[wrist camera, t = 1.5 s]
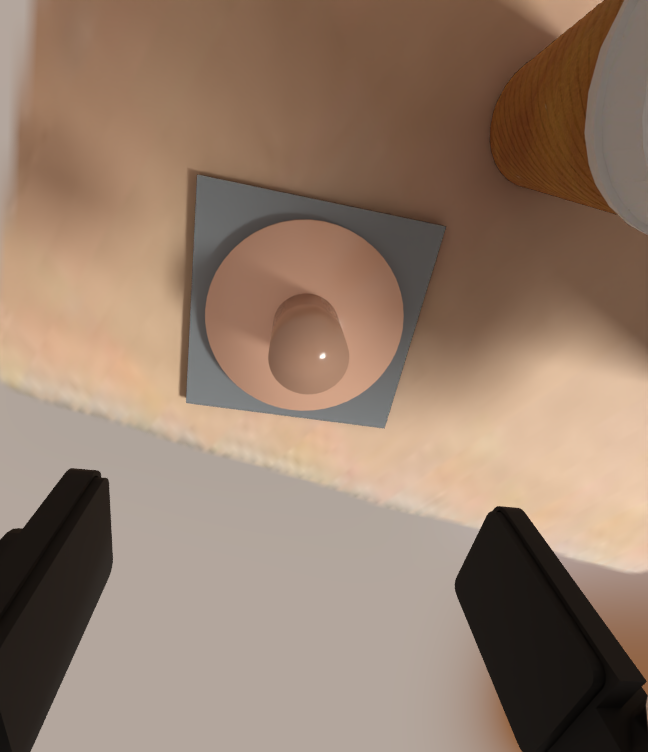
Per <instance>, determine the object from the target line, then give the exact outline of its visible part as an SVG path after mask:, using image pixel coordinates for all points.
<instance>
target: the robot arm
mask: <svg viewBox="0 0 648 752" xmlns="http://www.w3.org/2000/svg"><path fill="white" fill-rule="evenodd" d="M112 563H113V553H112V534H111V515H110V495H109V481H108V479H107V478H101V473H100V472H99V471H96V470H85V469H74V468H71V469H69V470H68V471H67V472H66V473H65V474H64V475H63V477H62V478H61V479H60V481H59V482H58V483H57V485H56V486H55V487H54V488H53V490H52V491H51V492H50V494H49V495H48V496H47V498H46V499H45V500H44V502H43V503H42V504H41V506H40V507H39V508H38V510H37V511H36V512H35V513H34V515H33V516H32V517H31V519H30V520H29V522H28V523H27V524H26V525H25V527H24V528H23V529H20V528H18V529H12V530H11V531H9V532H7V533H6V534H5V535H4V536H3V537H2V538H1V540H0V752H30V751H31V749H32V747H33V745H34V743H35V740H36V738H37V736H38V734H39V731H40V729H41V727H42V725H43V723H44V720H45V718H46V716H47V713H48V711H49V709H50V707H51V705H52V703H53V700H54V698H55V696H56V694H57V691H58V689H59V687H60V685H61V683H62V680H63V678H64V676H65V673H66V671H67V669H68V667H69V665H70V662H71V660H72V658H73V656H74V654H75V651H76V649H77V647H78V645H79V643H80V640H81V638H82V636H83V634H84V631H85V629H86V627H87V625H88V622H89V620H90V618H91V616H92V614H93V611H94V609H95V607H96V605H97V603H98V600H99V598H100V596H101V593H102V591H103V589H104V587H105V585H106V583H107V580H108V578H109V575H110V572H111V568H112ZM455 591H456V594H457V597H458V599H459V602H460V604H461V607H462V609H463V612H464V614H465V617H466V619H467V621H468V624H469V626H470V629H471V631H472V633H473V636H474V638H475V641H476V643H477V646H478V648H479V651H480V653H481V655H482V658H483V660H484V662H485V665H486V667H487V670H488V672H489V675H490V677H491V679H492V682H493V684H494V687H495V689H496V692H497V694H498V697H499V699H500V702H501V704H502V706H503V709H504V711H505V714H506V716H507V718H508V721H509V723H510V726H511V728H512V731H513V733H514V735H515V738H516V740H517V743H518V745H519V747H520V749H521V750H522V752H648V695H647V694H646V693H645V691H644V690H643V688H642V686H643V685H644V684H645V683H646V680H645V678H644V677H643V676H642V674H641V673H640V671H639V670H638V669H637V667H636V666H635V665H634V663H633V662H632V660H631V659H630V658H629V656H628V655H627V653H626V652H625V651H624V649H623V648H622V647H621V645H620V644H619V642H618V641H617V640H616V638H615V637H614V635H613V634H612V633H611V631H610V630H609V629H608V627H607V626H606V624H605V623H604V622H603V620H602V619H601V618H600V616H599V615H598V613H597V612H596V610H595V609H594V608H593V606H592V605H591V604H590V602H589V601H588V599H587V598H586V597H585V595H584V594H583V592H582V591H581V590H580V588H579V587H578V586H577V584H576V583H575V581H574V580H573V579H572V577H571V576H570V575H569V573H568V572H567V570H566V569H565V568H564V566H563V565H562V563H561V562H560V561H559V559H558V558H557V556H556V555H555V554H554V552H553V551H552V550H551V548H550V547H549V545H548V544H547V543H546V541H545V540H544V538H543V537H542V536H541V534H540V533H539V532H538V530H537V529H536V527H535V526H534V525H533V523H532V522H531V520H530V519H529V518H528V516H527V515H526V514H525V512H524V511H523V510H522V509H520V508H512V507H501V506H497V507H496V508H494V510H493V511H492V512H489V513H488V515H487V516H486V518H485V521H484V523H483V525H482V527H481V529H480V531H479V533H478V535H477V537H476V539H475V541H474V543H473V545H472V547H471V549H470V551H469V553H468V555H467V557H466V559H465V561H464V563H463V565H462V568H461V569H460V571H459V574H458V576H457V578H456V580H455Z"/></svg>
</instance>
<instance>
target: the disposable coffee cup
mask: <svg viewBox="0 0 648 752" xmlns="http://www.w3.org/2000/svg"><path fill="white" fill-rule="evenodd" d="M490 144H491V151H492V155H493V158H494V161H495V163H496V165H497V167H498V168H499V170H500V172H501V173H502V174H503V175H504V176H505V177H506V178H507V179H508V180H509V181H511V182H513V183H514V184H516V185H519V186H522V187H525V188H529V189H532V190H536V191H539V192H543V193H546V194H549V195H552V196H556V197H559V198H562V199H566V200H569V201H573V202H576V203H580V204H583V205H586V206H590V207H593V208H596V209H600V210H603V211H606V212H610V213H613V214H617V215H619V216H620V217H621V218H622V219H623V220H624V221H625V222H626V223H627V224H628V225H630V226H631V227H633V228H635V229H637V230H639V231H640V232H642V233H644V234H646V235H648V0H604V1H603V2H602V3H600V4H598V5H597V6H596V7H595V8H594V9H593V10H592V11H590V12H589V13H588V14H587V15H586V16H584V17H583V18H582V19H580V20H579V21H578V22H577V23H576V24H575V25H574V26H572V27H571V28H569V29H568V30H567V31H566V32H565V33H564V34H562V35H561V36H560V37H559V38H558V39H556V40H555V41H553V42H552V43H551V44H550V45H549V46H548V47H546V48H545V49H544V50H543V51H542V52H540V53H539V54H538V55H537V56H536V57H535V58H533V59H532V60H531V61H529V62H528V63H526V64H525V65H524V66H523V67H522V68H521V69H520V70H518V71H517V72H516V73H515V74H514V76H513V77H512V78H511V79H510V81H509V82H508V83H507V85H506V86H505V88H504V90H503V92H502V94H501V95H500V97H499V99H498V101H497V104H496V106H495V109H494V112H493V117H492V122H491V127H490Z"/></svg>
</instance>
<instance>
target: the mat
mask: <svg viewBox="0 0 648 752" xmlns="http://www.w3.org/2000/svg"><path fill="white" fill-rule="evenodd" d="M295 219H313V220H321V221H326V222H330V223H333V224H337V225H339V226H342V227H344V228H346V229H349V230H351V231H352V232H354V233H355V234H357V235H359V236H360V237H362V238H363V239H364V240H366V241H367V242H368V243H369V244H370V245H372V246H373V247H374V248H375V249H376V250H377V251H378V252H379V253H380V254H381V256H382V257H383V258H384V259H385V261H386V262H387V264H388V265H389V266H390V268H391V270H392V272H393V274H394V276H395V278H396V280H397V282H398V285H399V288H400V291H401V296H402V301H403V313H404V319H403V330H402V334H401V339H400V342H399V345H398V348H397V351H396V353H395V355H394V357H393V359H392V361H391V363H390V364H389V366H388V367H387V369H386V370H385V372H384V373H383V374H382V375H381V376H380V377H379V379H378V380H377V381H376V382H375V383H374V384H372V385H371V386H370V387H369V388H368V389H367V390H365V391H364V392H362V393H361V394H360V395H358V396H356V397H354V398H353V399H351V400H349V401H347V402H344V403H342V404H339V405H337V406H333V407H329V408H325V409H319V410H308V411H300V410H289V409H284V408H279V407H275V406H272V405H269V404H267V403H264V402H262V401H260V400H257V399H256V398H254V397H252V396H251V395H249V394H247V393H246V392H245V391H243V390H242V389H241V388H239V387H238V386H237V385H236V384H235V383H234V382H233V381H232V380H231V379H230V378H229V377H228V376H227V374H226V373H225V372H224V371H223V369H222V368H221V366H220V365H219V363H218V362H217V360H216V358H215V356H214V354H213V351H212V349H211V347H210V343H209V340H208V336H207V331H206V324H205V308H206V300H207V295H208V291H209V288H210V284H211V282H212V280H213V278H214V275H215V273H216V271H217V270H218V268H219V266H220V265H221V263H222V262H223V260H224V259H225V258H226V257H227V256H228V254H229V253H230V252H231V251H232V250H233V249H234V248H235V247H236V246H237V245H238V244H239V243H240V242H241V241H243V240H244V239H245V238H247V237H248V236H250V235H251V234H253V233H254V232H256V231H258V230H260V229H262V228H264V227H266V226H269V225H272V224H275V223H278V222H282V221H288V220H295ZM445 229H446V226H442V225H437V224H432V223H428V222H423V221H418V220H413V219H408V218H404V217H399V216H394V215H389V214H385V213H380V212H375V211H370V210H365V209H361V208H356V207H351V206H346V205H341V204H337V203H332V202H327V201H322V200H318V199H313V198H308V197H303V196H298V195H294V194H289V193H284V192H279V191H275V190H270V189H265V188H260V187H255V186H251V185H246V184H241V183H236V182H232V181H227V180H222V179H217V178H212V177H208V176H203V175H197V187H196V208H195V229H194V249H193V270H192V291H191V311H190V332H189V352H188V373H187V394H186V403H190V404H198V405H206V406H213V407H221V408H229V409H237V410H245V411H252V412H260V413H268V414H276V415H284V416H291V417H299V418H307V419H315V420H323V421H330V422H338V423H346V424H354V425H362V426H369V427H377V428H385V425H386V422H387V418H388V415H389V412H390V409H391V405H392V402H393V399H394V396H395V392H396V389H397V386H398V382H399V379H400V376H401V373H402V369H403V366H404V363H405V360H406V356H407V353H408V350H409V347H410V343H411V340H412V337H413V333H414V330H415V327H416V324H417V320H418V317H419V314H420V311H421V307H422V304H423V301H424V298H425V294H426V291H427V288H428V284H429V281H430V278H431V275H432V271H433V268H434V265H435V262H436V258H437V255H438V252H439V248H440V245H441V242H442V239H443V235H444V232H445Z"/></svg>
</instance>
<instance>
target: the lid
mask: <svg viewBox="0 0 648 752" xmlns="http://www.w3.org/2000/svg"><path fill="white" fill-rule="evenodd" d="M403 319H404V313H403V301H402V296H401V291H400V288H399V285H398V282H397V280H396V278H395V276H394V274H393V272H392V270H391V268H390V266H389V265H388V264H387V262H386V261H385V259H384V258H383V257H382V256H381V254H380V253H379V252H378V251H377V250H376V249H375V248H374V247H373V246H372V245H370V244H369V243H368V242H367V241H366V240H364V239H363V238H362V237H360V236H359V235H357V234H355V233H354V232H352V231H351V230H349V229H346V228H344V227H342V226H339V225H337V224H333V223H330V222H326V221H321V220H313V219H295V220H288V221H282V222H278V223H275V224H272V225H269V226H266V227H264V228H262V229H260V230H258V231H256V232H254V233H253V234H251V235H250V236H248V237H247V238H245V239H244V240H243V241H241V242H240V243H239V244H238V245H237V246H236V247H235V248H234V249H233V250H232V251H231V252H230V253H229V254H228V256H227V257H226V258H225V259H224V260H223V262H222V263H221V265H220V266H219V268H218V270H217V271H216V273H215V275H214V278H213V280H212V282H211V284H210V288H209V291H208V295H207V300H206V308H205V324H206V331H207V336H208V340H209V343H210V347H211V349H212V351H213V354H214V356H215V358H216V360H217V362H218V363H219V365H220V366H221V368H222V369H223V371H224V372H225V373H226V374H227V376H228V377H229V378H230V379H231V380H232V381H233V382H234V383H235V384H236V385H237V386H238V387H239V388H241V389H242V390H243V391H245V392H246V393H247V394H249V395H251V396H252V397H254V398H256V399H257V400H260V401H262V402H264V403H267V404H269V405H272V406H275V407H279V408H284V409H289V410H300V411H308V410H319V409H325V408H329V407H333V406H337V405H339V404H342V403H344V402H347V401H349V400H351V399H353V398H354V397H356V396H358V395H360V394H361V393H362V392H364V391H365V390H367V389H368V388H369V387H370V386H371V385H372V384H374V383H375V382H376V381H377V380H378V379H379V377H380V376H381V375H382V374H383V373H384V372H385V370H386V369H387V367H388V366H389V364H390V363H391V361H392V359H393V357H394V355H395V353H396V351H397V348H398V345H399V342H400V339H401V334H402V330H403Z"/></svg>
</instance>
